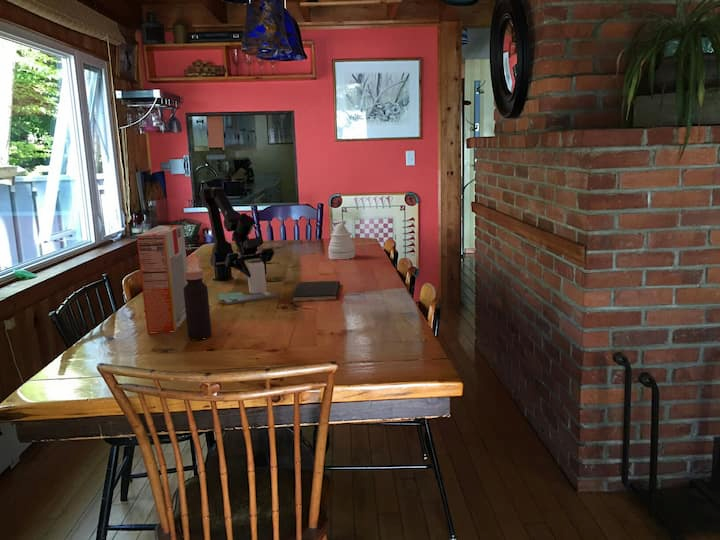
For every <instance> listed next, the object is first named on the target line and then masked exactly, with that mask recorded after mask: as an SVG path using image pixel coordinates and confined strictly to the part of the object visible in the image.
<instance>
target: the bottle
mask: <svg viewBox="0 0 720 540" xmlns="http://www.w3.org/2000/svg"><path fill="white" fill-rule="evenodd" d="M203 273H204V272H203V269H202V268H201V269H200V268H195V269H194V268H192V269H188V270H187V271H185V277H186V281H187V285H186V286H185V287H184V289H183V291H184V301H185V311H186V319H185V321H186V327H187V330H186V331H187V338H188V339H189V338H190V339H189V340H191V339H203V338H207V337H209V338H211V337H212V336H211V335H212V334H213V333H212V324H211V314H210V301H209V292H208V285H207V284H205V283H204V281H203V279H204V274H203ZM210 336H211V337H210ZM207 339H208V338H207ZM203 340H204V339H203Z"/></svg>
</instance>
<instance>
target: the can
mask: <svg viewBox="0 0 720 540" xmlns="http://www.w3.org/2000/svg"><path fill="white" fill-rule="evenodd" d="M246 266H247V269H248V271H249V273H250V277H248V276H247V282H248V291H249V293H250V295H252V294H259V293H262V292H266V291H267V283H266V275H265V268H264V263H263V260H259V259H254V260H247V264H246Z"/></svg>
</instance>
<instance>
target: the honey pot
mask: <svg viewBox="0 0 720 540" xmlns="http://www.w3.org/2000/svg"><path fill="white" fill-rule="evenodd" d="M345 225H347V220H340V223H337V225H336V226H335V228H334V230H333V232H332V233H330V235H331V237H330V238H331V239H330V240H329V244H328V245H329V246H328V248H327V249H328V259H329V258H330V259H329V260H332V259H347V260H350V259H349V258H352V259H354V258H353V257H356V251H355V247H356V246H355V245H354V241H353V239H352V232H351V231H349V230H348V228H347V227H346V226H345Z"/></svg>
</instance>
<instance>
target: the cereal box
mask: <svg viewBox="0 0 720 540" xmlns="http://www.w3.org/2000/svg"><path fill="white" fill-rule="evenodd" d="M136 246H137V254H138V261H139V270H140V279H141V286H142V287H141V289H142V296H143V305H144V313H145V322H146V323H145V324H146V331H147V332H146V333H147V334H148V333H150V332H170V331H175V330H176V329H177V327H178V326H179V325H180V324H181V323H182V321H183V320H184V319H185V318H186V311H185V301H184V291H183V289H184V287H185V286H186V285H187V281H186V277H185V271H187V270H189V269H188V260H187V251H186V248H187V247H186V241H185V229H184V224H172V225H171V224H169V225H166V224H165V225H158V226H155V227H152V228H151V229H149V230H146V231H144V232H142V233H140V234H138V235H136ZM185 320H186V319H185ZM185 320H184V321H185ZM182 324H183V323H182ZM182 324H181V325H182ZM181 325H180V326H181ZM180 326H179V327H180ZM177 330H178V329H177ZM177 330H176V331H177ZM176 331H175V332H176Z"/></svg>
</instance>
